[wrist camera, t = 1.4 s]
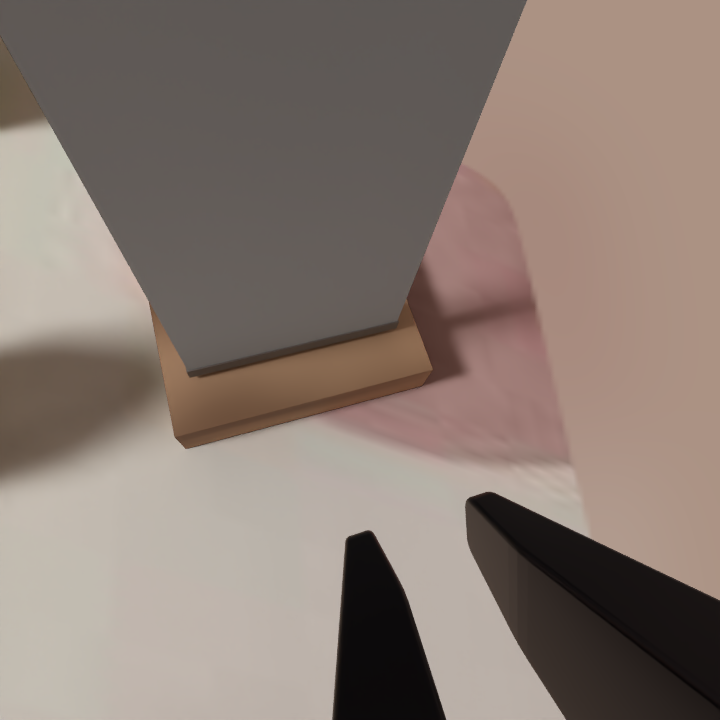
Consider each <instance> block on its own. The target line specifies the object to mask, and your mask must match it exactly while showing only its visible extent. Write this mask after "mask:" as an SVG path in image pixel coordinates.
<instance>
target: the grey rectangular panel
mask: <svg viewBox="0 0 720 720" xmlns="http://www.w3.org/2000/svg"><path fill="white" fill-rule="evenodd" d="M526 1H527V0H0V36H1V38H2V40H3V42H4V43H5V45H6V47H7V49H8V50H9V52H10V54H11V56H12V58H13V59H14V61H15V63H16V65H17V67H18V68H19V70H20V72H21V74H22V75H23V77H24V79H25V81H26V83H27V84H28V86H29V88H30V90H31V92H32V93H33V95H34V97H35V99H36V100H37V102H38V104H39V106H40V108H41V109H42V111H43V113H44V115H45V117H46V118H47V120H48V122H49V124H50V126H51V127H52V129H53V131H54V133H55V134H56V136H57V138H58V140H59V142H60V143H61V145H62V147H63V149H64V151H65V152H66V154H67V156H68V158H69V159H70V161H71V163H72V165H73V167H74V168H75V170H76V172H77V174H78V176H79V177H80V179H81V181H82V183H83V184H84V186H85V188H86V190H87V192H88V193H89V195H90V197H91V199H92V201H93V202H94V204H95V206H96V208H97V209H98V211H99V213H100V215H101V217H102V218H103V220H104V222H105V224H106V226H107V227H108V229H109V231H110V233H111V235H112V236H113V238H114V240H115V242H116V243H117V245H118V247H119V249H120V251H121V252H122V254H123V256H124V258H125V260H126V261H127V263H128V265H129V267H130V268H131V270H132V272H133V274H134V276H135V277H136V279H137V281H138V283H139V285H140V286H141V288H142V290H143V292H144V293H145V295H146V297H147V299H148V301H149V302H150V304H151V306H152V308H153V310H154V311H155V313H156V315H157V317H158V318H159V320H160V322H161V324H162V326H163V327H164V329H165V331H166V333H167V335H168V336H169V338H170V340H171V342H172V344H173V345H174V347H175V349H176V351H177V352H178V354H179V356H180V358H181V360H182V361H183V363H184V365H185V367H186V372H187V374H188V376H189V377H190V378H191V377H196V376H200V375H204V374H208V373H212V372H216V371H221V370H225V369H229V368H233V367H237V366H241V365H246V364H250V363H254V362H258V361H262V360H266V359H271V358H275V357H279V356H283V355H287V354H291V353H296V352H300V351H304V350H308V349H312V348H317V347H321V346H325V345H329V344H333V343H337V342H342V341H346V340H350V339H354V338H358V337H362V336H367V335H371V334H375V333H379V332H383V331H387V330H392V329H396V328H397V325H398V323H399V321H398V318H399V316H400V313H401V311H402V308H403V306H404V303H405V301H406V298H407V296H408V293H409V291H410V288H411V286H412V283H413V281H414V278H415V276H416V274H417V271H418V269H419V266H420V264H421V261H422V259H423V256H424V254H425V251H426V249H427V246H428V244H429V241H430V239H431V236H432V234H433V231H434V229H435V227H436V224H437V222H438V219H439V217H440V214H441V212H442V209H443V207H444V204H445V202H446V199H447V197H448V194H449V192H450V189H451V187H452V184H453V182H454V179H455V177H456V175H457V172H458V170H459V167H460V165H461V162H462V160H463V157H464V155H465V152H466V150H467V147H468V145H469V142H470V140H471V137H472V135H473V132H474V130H475V127H476V125H477V122H478V120H479V118H480V115H481V113H482V110H483V108H484V105H485V103H486V100H487V98H488V95H489V93H490V90H491V88H492V85H493V83H494V80H495V78H496V75H497V73H498V70H499V68H500V66H501V63H502V60H503V58H504V56H505V53H506V51H507V48H508V46H509V43H510V41H511V38H512V36H513V33H514V31H515V28H516V26H517V23H518V21H519V19H520V16H521V13H522V11H523V8H524V6H525V4H526Z"/></svg>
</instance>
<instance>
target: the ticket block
mask: <svg viewBox="0 0 720 720" xmlns="http://www.w3.org/2000/svg"><path fill="white" fill-rule="evenodd" d="M149 305H150V310H151V315H152V321H153V326H154V331H155V336H156V342H157V347H158V352H159V357H160V363H161V368H162V373H163V378H164V384H165V389H166V394H167V399H168V405H169V410H170V415H171V420H172V426H173V431H174V436H175V438H176V439H177V440H178V441H179V442H180V443H181V444H182V445H183V446H184V448H185V449H187V448H191V447H195V446H199V445H202V444H206V443H210V442H214V441H217V440H221V439H225V438H229V437H232V436H236V435H240V434H244V433H247V432H251V431H255V430H259V429H262V428H266V427H270V426H274V425H277V424H281V423H285V422H289V421H292V420H296V419H300V418H303V417H307V416H311V415H315V414H318V413H322V412H326V411H330V410H333V409H337V408H341V407H345V406H348V405H352V404H356V403H360V402H363V401H367V400H371V399H375V398H378V397H382V396H386V395H390V394H393V393H397V392H401V391H405V390H408V389H412V388H416V387H420V386H422V385H423V384H424V382H425V381H426V379H427V378H428V376H429V375H430V373H431V372H432V370H433V368H432V365H431V363H430V360H429V357H428V355H427V352H426V349H425V347H424V344H423V341H422V339H421V336H420V333H419V331H418V328H417V325H416V323H415V320H414V317H413V315H412V312H411V309H410V307H409V304H408V301H407V299H406V301H405V303H404V306H403V308H402V311H401V313H400V316H399V318H398V321H399V323H398V325H397V328H396V329H392V330H387V331H383V332H379V333H375V334H371V335H367V336H362V337H358V338H354V339H350V340H346V341H342V342H337V343H333V344H329V345H325V346H321V347H317V348H312V349H308V350H304V351H300V352H296V353H291V354H287V355H283V356H279V357H275V358H271V359H266V360H262V361H258V362H254V363H250V364H246V365H241V366H237V367H233V368H229V369H225V370H221V371H216V372H212V373H208V374H204V375H200V376H196V377H191V378H190V377H189V376H188V374H187V372H186V367H185V365H184V363H183V361H182V360H181V358H180V356H179V354H178V352H177V351H176V349H175V347H174V345H173V344H172V342H171V340H170V338H169V336H168V335H167V333H166V331H165V329H164V327H163V326H162V324H161V322H160V320H159V318H158V317H157V315H156V313H155V311H154V310H153V308H152V306H151V304H150V302H149Z"/></svg>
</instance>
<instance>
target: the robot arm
mask: <svg viewBox="0 0 720 720" xmlns="http://www.w3.org/2000/svg"><path fill="white" fill-rule="evenodd" d="M465 511H466V528H467V540H468V545H469V548H470V550H471V553H472V555H473V557H474V559H475V561H476V563H477V565H478V567H479V569H480V571H481V573H482V575H483V577H484V579H485V581H486V583H487V585H488V586H489V588H490V590H491V592H492V594H493V596H494V598H495V600H496V602H497V604H498V606H499V608H500V610H501V612H502V614H503V616H504V618H505V620H506V622H507V624H508V626H509V628H510V630H511V632H512V634H513V636H514V637H515V639H516V641H517V643H518V645H519V646H520V648H521V650H522V651H523V653H524V655H525V656H526V658H527V659H528V661H529V663H530V664H531V666H532V667H533V669H534V670H535V672H536V673H537V675H538V677H539V678H540V680H541V681H542V683H543V684H544V686H545V687H546V689H547V691H548V692H549V694H550V695H551V697H552V698H553V700H554V701H555V703H556V705H557V706H558V708H559V709H560V711H561V712H562V714H563V715H564V717H565V719H566V720H720V600H718V599H716V598H713V597H711V596H709V595H707V594H705V593H703V592H701V591H699V590H697V589H695V588H693V587H690V586H688V585H686V584H684V583H682V582H680V581H678V580H676V579H674V578H672V577H669V576H667V575H665V574H663V573H661V572H659V571H657V570H655V569H652V568H651V567H649V566H646V565H644V564H642V563H640V562H638V561H636V560H634V559H632V558H630V557H628V556H626V555H623V554H621V553H619V552H617V551H615V550H613V549H611V548H609V547H607V546H605V545H603V544H600V543H598V542H596V541H594V540H592V539H590V538H588V537H586V536H584V535H582V534H579V533H577V532H575V531H573V530H571V529H569V528H567V527H565V526H563V525H561V524H559V523H556V522H554V521H552V520H550V519H548V518H546V517H544V516H542V515H540V514H538V513H535V512H533V511H531V510H529V509H527V508H525V507H523V506H521V505H519V504H517V503H515V502H512V501H510V500H508V499H506V498H504V497H502V496H500V495H498V494H496V493H493V492H485V493H482V494H479V495H476V496H473V497H470V498H468V499H467V501H466V504H465ZM332 720H446V717H445V714H444V711H443V708H442V705H441V702H440V699H439V695H438V692H437V689H436V686H435V683H434V680H433V677H432V674H431V670H430V667H429V664H428V661H427V658H426V655H425V652H424V649H423V645H422V642H421V639H420V636H419V633H418V630H417V627H416V624H415V620H414V617H413V614H412V611H411V608H410V605H409V602H408V599H407V597H406V594H405V591H404V589H403V587H402V585H401V583H400V581H399V579H398V577H397V575H396V574H395V572H394V570H393V568H392V566H391V564H390V562H389V561H388V559H387V557H386V555H385V553H384V551H383V549H382V548H381V546H380V544H379V542H378V540H377V538H376V536H375V535H374V533H373V532H372V531H369V530H367V531H364V532H361V533H358V534H355V535H352V536H349V537H348V538H347V539H346V542H345V554H344V567H343V581H342V595H341V608H340V622H339V635H338V649H337V663H336V676H335V690H334V703H333V717H332Z"/></svg>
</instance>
